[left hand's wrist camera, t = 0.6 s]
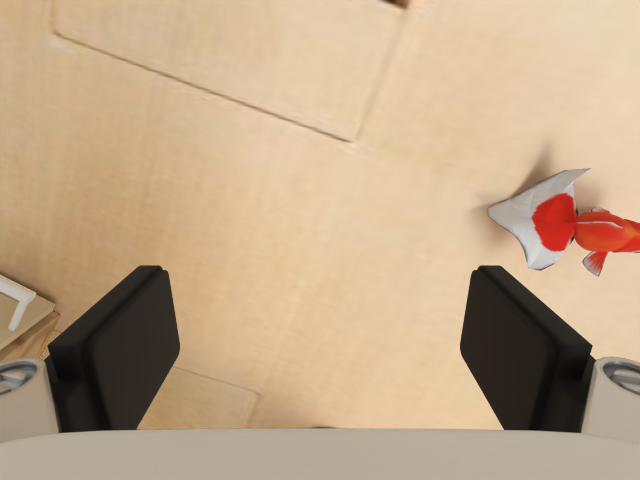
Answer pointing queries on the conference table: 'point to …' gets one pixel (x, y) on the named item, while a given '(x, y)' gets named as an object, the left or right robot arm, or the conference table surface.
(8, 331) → the drawer
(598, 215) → the fish
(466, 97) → the conference table surface
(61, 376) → the left robot arm
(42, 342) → the cabinet
